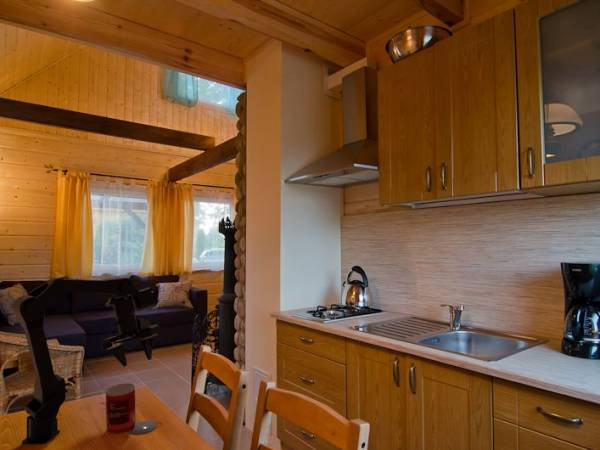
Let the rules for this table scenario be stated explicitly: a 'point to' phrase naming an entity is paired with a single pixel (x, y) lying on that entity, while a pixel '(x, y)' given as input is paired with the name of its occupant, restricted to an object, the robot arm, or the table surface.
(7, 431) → the table surface
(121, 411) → the canned food
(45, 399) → the robot arm
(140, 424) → the coaster
